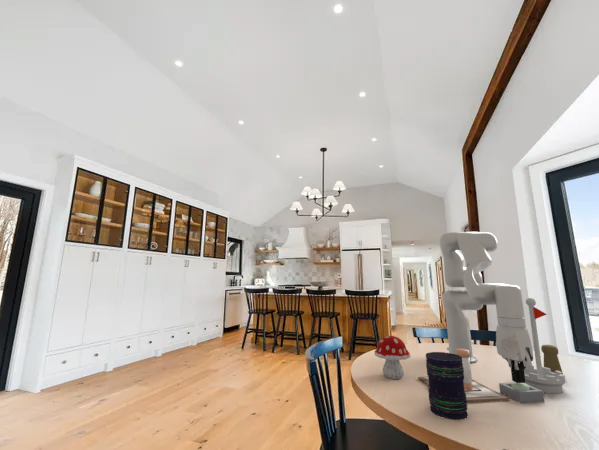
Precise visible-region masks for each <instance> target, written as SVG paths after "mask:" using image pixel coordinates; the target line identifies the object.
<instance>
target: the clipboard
mask: <svg viewBox="0 0 599 450" xmlns="http://www.w3.org/2000/svg"><path fill="white" fill-rule="evenodd" d="M417 379H418V380H419V381H420V382H422V383H423V384H425V385H426V386H428V387H429V378H428V375H427V376H426V375H425V376H418V377H417ZM472 385H473V389H472V390H466V389H464V391H465V393H466V400H467V404H471V403H489V402H490V403H491V402H493V403H494V402H509V401H510V398H509V397H507V396H505V395H503V394H501V393H500V392H498V391H496V390H495V389H493V388H490V387H488V386H486V385H484V384H482V383H480V382H478V381H476V380H474V379H472Z"/></svg>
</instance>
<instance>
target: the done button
mask: <svg viewBox="0 0 599 450" xmlns="http://www.w3.org/2000/svg"><path fill="white" fill-rule="evenodd" d="M510 383H511V386H512V388H515V389H517V390H519V391H522V390H529V385H528V384H525V383H516V382H514V381H511V382H510Z"/></svg>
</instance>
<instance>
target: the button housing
mask: <svg viewBox="0 0 599 450" xmlns="http://www.w3.org/2000/svg"><path fill="white" fill-rule="evenodd" d="M498 386H499V393H500V394H502V395H504V396H506V397H508V398H509V399H512V400H514V401H515V402H517V401H518V402H517V403H519V402H520V404H528V403H529V402H531V403H543V402H544V403H545V396H544V392H543V391H542V390H539V389H537V388H534V387H532V386H530V385H529V390H522V391H519V390H517V389H515V388H512V386H511V382H499V383H498ZM529 404H530V403H529Z"/></svg>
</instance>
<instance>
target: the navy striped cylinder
mask: <svg viewBox="0 0 599 450" xmlns="http://www.w3.org/2000/svg"><path fill="white" fill-rule="evenodd" d="M425 358H426V359H425V362H426V363H425V365H426V374H427V376H428V378H429V386H428V388H427V389H428V400H429V405H430V406H429V409H430V412H431V413H432V414H434V415H435V416H437V417H439V416H440V418H442V417H443V418H442V419H446V420H451V419H452V420H451V421H461V420H460V419H463V420H466V419H467V418H468V417H469V413H468V403H467V400H466V393H465V391H464V381H463V380H464V368H463V363H462V357H461V356H459V355H456V354H451V353H449V352H442V351H431V352H427V353H426V354H425ZM467 416H468V417H467ZM465 418H466V419H465Z"/></svg>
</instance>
